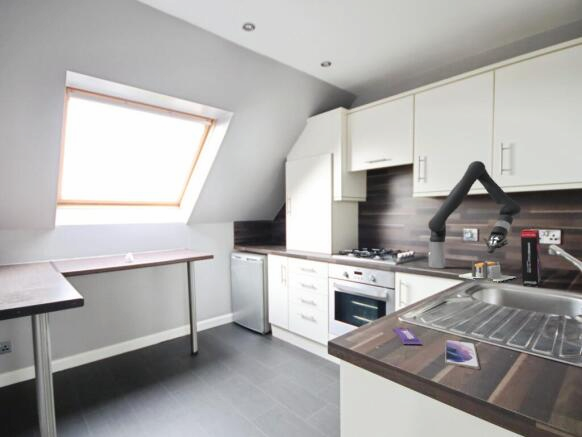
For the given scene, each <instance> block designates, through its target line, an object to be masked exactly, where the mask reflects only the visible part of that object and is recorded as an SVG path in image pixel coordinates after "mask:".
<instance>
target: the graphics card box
mask: <svg viewBox="0 0 582 437" xmlns="http://www.w3.org/2000/svg"><path fill="white" fill-rule="evenodd" d="M540 241H541V240H540V230H539V229H529V228H527V229H525V228H524V229H523V230H520V248H521V249H520V250H521V251H520V252H521V274H522V275H521V285H522V284H523V285H531V286H530V287H532V286H538V287H539V286H540V284H541V280H542V279H541V278H542V276H541V274H542V273H541V249H540V248H541V247H540V246H541V244H540ZM523 285H522V286H523Z"/></svg>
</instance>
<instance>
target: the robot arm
mask: <svg viewBox="0 0 582 437" xmlns="http://www.w3.org/2000/svg"><path fill="white" fill-rule="evenodd" d="M477 181H478V182H479V183H480V184H481V185H482V186H483V188H484V189H485V191H486V192H487V194H489V196H490V197H491V198H492V200H493V201H494V202H495V203H496V204H497V205H501V204H502V205H504V206H502V207H501V209H500V211H499V214H498V220H497V221H496V223H495V224H494V226H493V228H492V230H491V232H490V235H489V236H488V237H487V238H485V237H484V238H483V242H484V243H485V244H486V246H487V253H488V254H493V253H494V252H495V250H496V249H501V248H502V247H505V246H506V245H508V244H509V242H508V239H507V235H508V233H509V231H510V229H511V226H512V224H513V222H514V218H513V216H515V215H518V214H520V213H521V211H522V208H521V206H520V204H519V202H517V201H516V200H514V199H513V198H511V197H510V196H509V195H507V194H506V192H505V191H504V190H503V189H502V188H501V187H500V185H499V184H498V183H497V182H496V181H495V180H494V179H493V178H492V177H491V175H490V174H489V172H488V171H487V169H486V164H484V162H482V161H479V160H475V161H472V162H470V163H469V165H468V166H467V169H466V171H465V172H464V174H463V176H462V177H461V179H460V180H459V181H458V183H456V184H455V186H454V187H453V188H452V190H451V191H450V192H449V194H448V195H447V197H446V198H445V200H444V201H443V203H442V205H441V206H440V208H439V210H438V211H437V212H436V213H435V214H434V216H432V217H431V219H430V220H429V221H428V228H429V230H430V237H429V252H428V267H429V268H432V269H445V268H446V243H445V242H446V237H447V230H446V229H447V224H446V222H447V219H448V218H449V217H450V216H451V215H452V214H453V213H454V212H455V211H456V210H457V209H458V208H459V207H460V205H462V203H463V201H464V200H465V199H466V198H467V196H468V194H469V193H470V190H471V188H472V187H473V185H474V184H475V182H477Z"/></svg>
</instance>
